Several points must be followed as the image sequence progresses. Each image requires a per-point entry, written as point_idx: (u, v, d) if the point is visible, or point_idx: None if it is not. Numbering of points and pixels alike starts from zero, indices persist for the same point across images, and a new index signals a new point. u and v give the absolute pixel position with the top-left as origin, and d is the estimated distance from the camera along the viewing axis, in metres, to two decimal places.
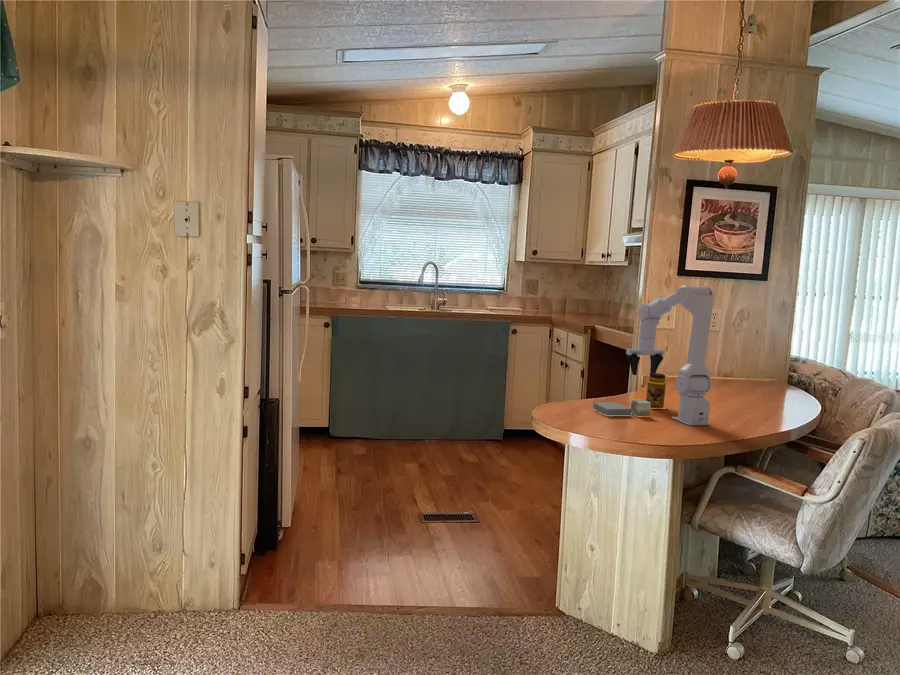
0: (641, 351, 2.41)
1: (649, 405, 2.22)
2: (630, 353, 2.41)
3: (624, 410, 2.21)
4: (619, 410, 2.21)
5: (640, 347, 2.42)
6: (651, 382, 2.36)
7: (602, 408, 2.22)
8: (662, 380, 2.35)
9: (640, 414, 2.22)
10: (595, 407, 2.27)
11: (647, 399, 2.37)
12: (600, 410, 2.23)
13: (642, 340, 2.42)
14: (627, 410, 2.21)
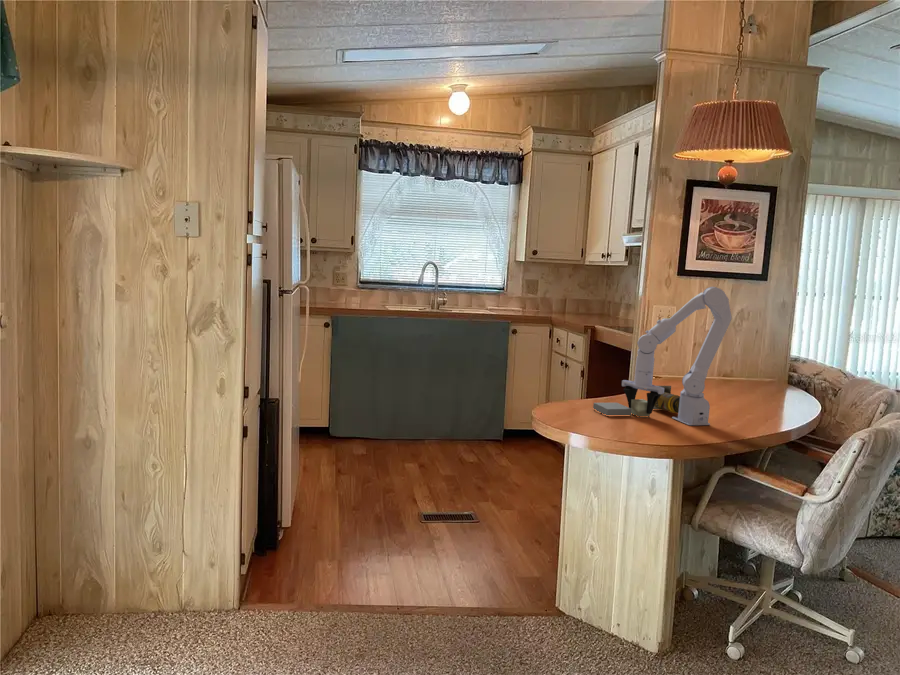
0: (631, 384, 2.24)
1: None
2: (623, 384, 2.27)
3: (624, 410, 2.21)
4: (619, 410, 2.21)
5: None
6: (668, 406, 2.25)
7: (602, 408, 2.22)
8: None
9: (640, 413, 2.22)
10: (595, 407, 2.26)
11: (657, 400, 2.31)
12: (600, 410, 2.23)
13: (635, 372, 2.23)
14: (627, 410, 2.21)
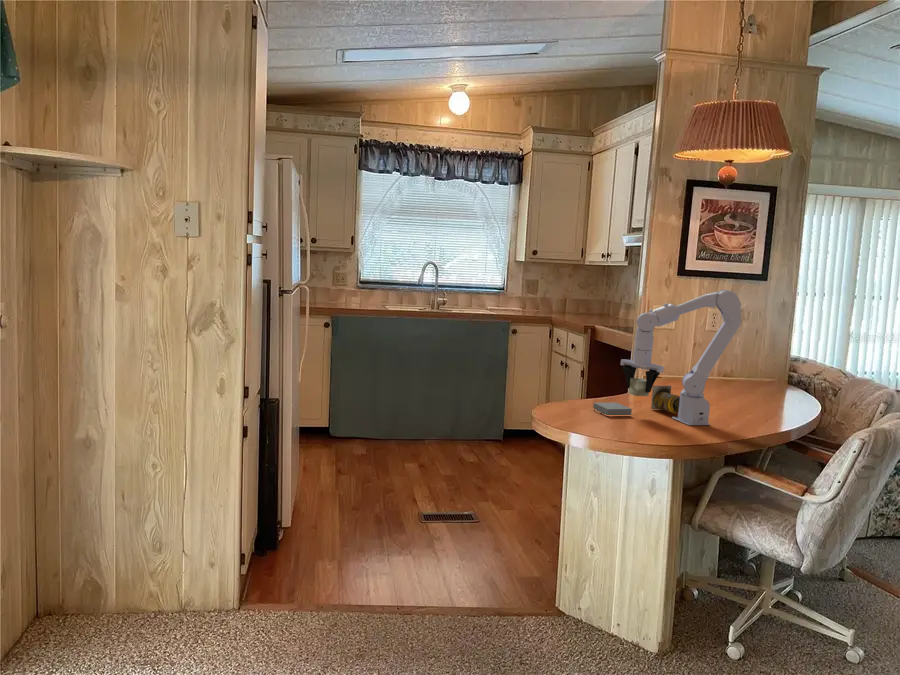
0: (630, 362, 2.23)
1: None
2: (621, 363, 2.26)
3: (624, 410, 2.21)
4: (619, 410, 2.21)
5: None
6: (668, 406, 2.25)
7: (602, 408, 2.22)
8: None
9: (639, 392, 2.21)
10: (595, 407, 2.26)
11: (657, 400, 2.31)
12: (600, 410, 2.23)
13: (634, 351, 2.23)
14: (627, 410, 2.22)
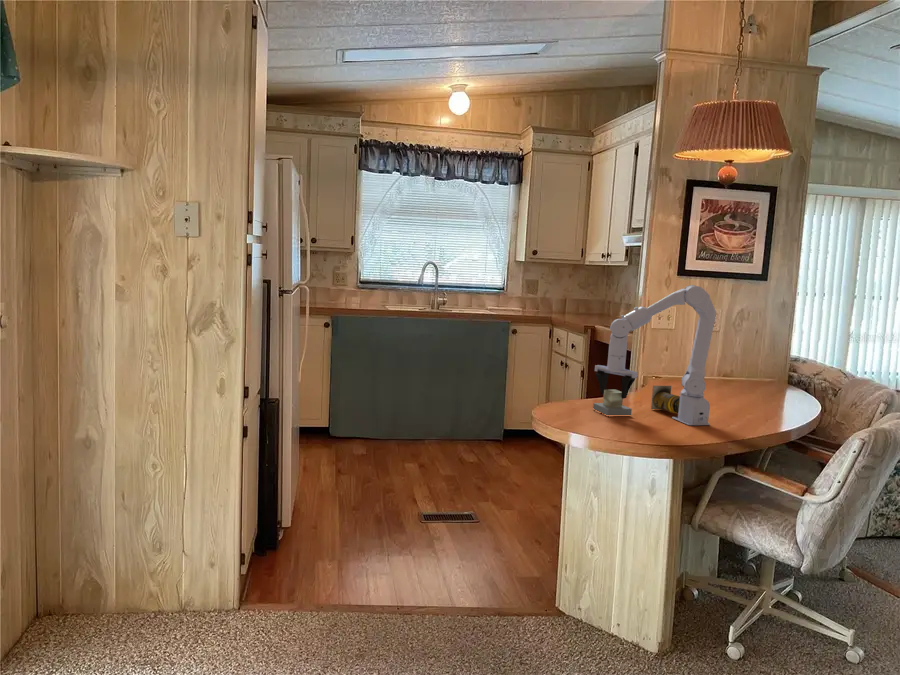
0: (604, 368, 2.24)
1: None
2: (596, 369, 2.27)
3: (624, 410, 2.21)
4: (619, 410, 2.21)
5: None
6: (668, 407, 2.25)
7: (602, 408, 2.22)
8: None
9: (612, 404, 2.22)
10: (595, 408, 2.26)
11: (657, 400, 2.31)
12: (600, 410, 2.23)
13: (608, 357, 2.23)
14: (627, 410, 2.22)
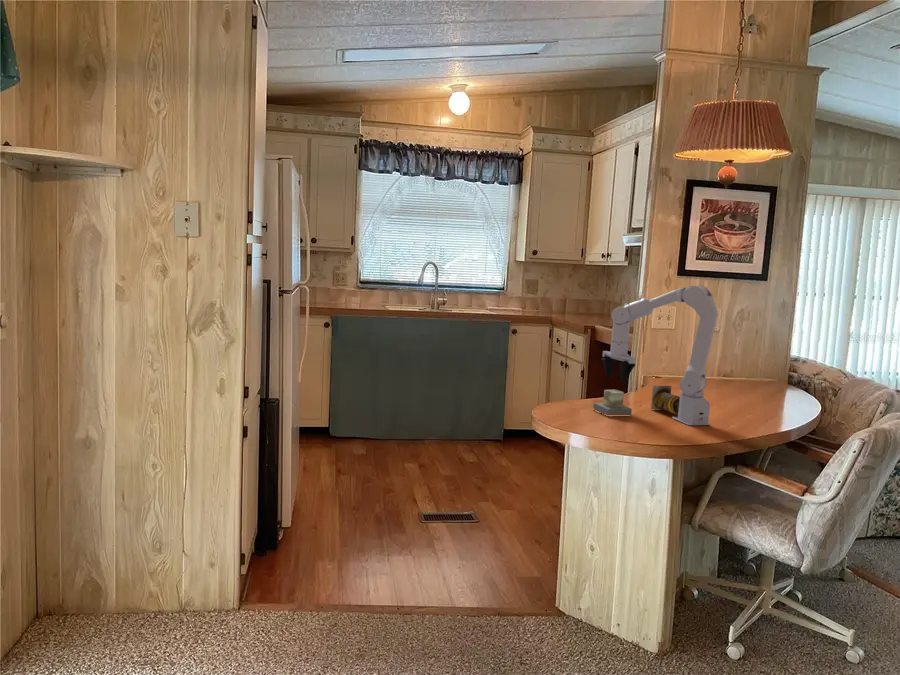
0: (607, 354, 2.34)
1: (622, 395, 2.23)
2: (603, 355, 2.38)
3: (624, 410, 2.21)
4: (619, 410, 2.21)
5: None
6: (668, 407, 2.25)
7: (602, 408, 2.22)
8: None
9: (613, 404, 2.22)
10: (595, 408, 2.26)
11: (657, 400, 2.31)
12: (600, 410, 2.23)
13: None
14: (627, 410, 2.22)
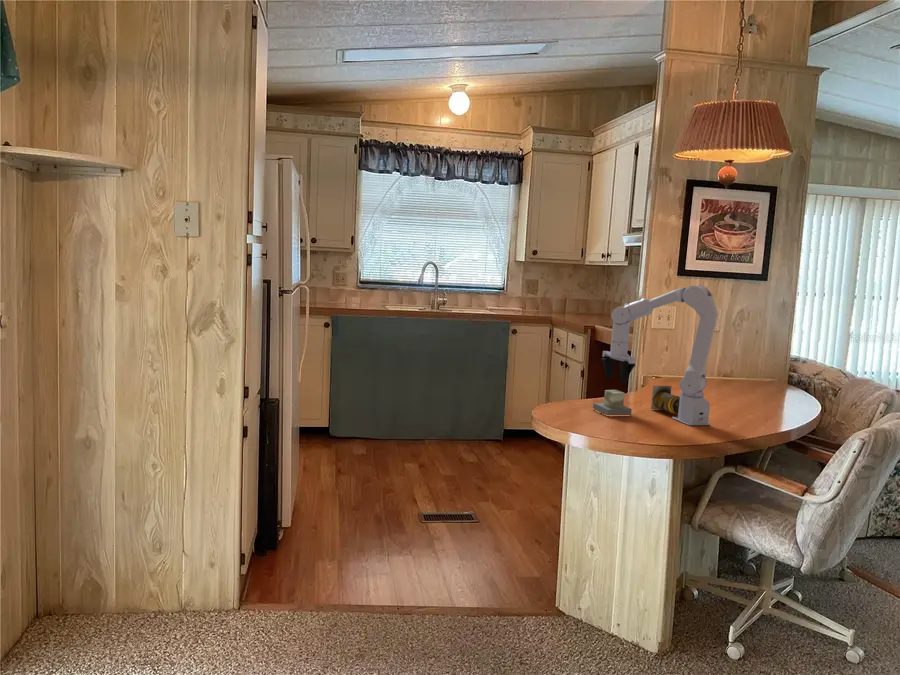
0: (607, 354, 2.34)
1: (623, 395, 2.23)
2: (603, 355, 2.38)
3: (624, 410, 2.21)
4: (619, 410, 2.21)
5: None
6: (668, 407, 2.25)
7: (602, 408, 2.22)
8: None
9: (614, 404, 2.22)
10: (595, 408, 2.26)
11: (657, 400, 2.31)
12: (600, 410, 2.23)
13: None
14: (627, 410, 2.22)
